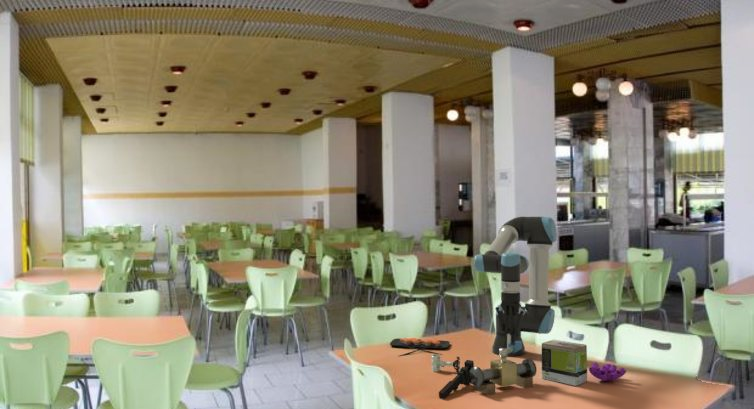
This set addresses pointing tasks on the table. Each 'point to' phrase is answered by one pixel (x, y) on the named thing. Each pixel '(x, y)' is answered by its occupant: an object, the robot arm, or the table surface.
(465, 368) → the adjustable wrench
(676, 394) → the table surface
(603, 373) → the purple lumpy cluster
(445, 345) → the sushi plate
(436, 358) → the valve
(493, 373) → the pipe run
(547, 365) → the tea box
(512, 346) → the lever
